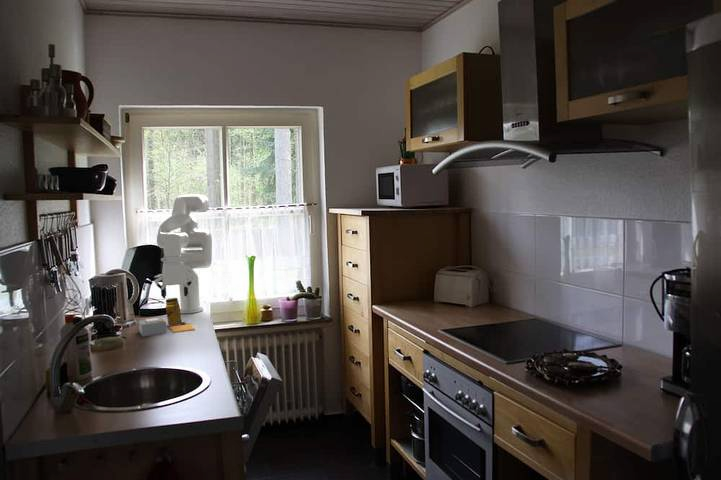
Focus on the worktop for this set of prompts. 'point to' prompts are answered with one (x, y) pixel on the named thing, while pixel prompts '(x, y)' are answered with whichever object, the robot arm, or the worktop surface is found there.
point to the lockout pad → (182, 328)
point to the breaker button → (152, 320)
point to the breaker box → (152, 327)
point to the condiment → (173, 312)
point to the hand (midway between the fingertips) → (174, 296)
